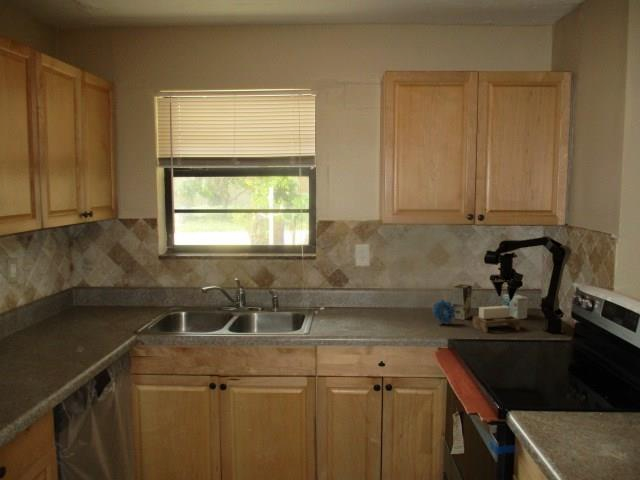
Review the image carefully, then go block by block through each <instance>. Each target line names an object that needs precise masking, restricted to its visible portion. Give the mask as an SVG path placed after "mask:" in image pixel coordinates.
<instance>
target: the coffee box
mask: <svg viewBox="0 0 640 480" xmlns="http://www.w3.org/2000/svg"><path fill="white" fill-rule="evenodd" d="M472 288H473V286H472V285H470V284H458V285H455V286H453V290H452V291H453V293H452V306H453V307H454V308H455V312H453V313H455V315H456V316H455V318H454V320H455V319H457V320H462V321H465V320H467V319H468V318H470V317H471V316H472V314H471V313H472V291H473V289H472Z"/></svg>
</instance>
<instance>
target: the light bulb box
mask: <svg viewBox="0 0 640 480" xmlns="http://www.w3.org/2000/svg"><path fill="white" fill-rule="evenodd" d="M528 299H529V298H528V297H527V296H525V295H520V294H514V297H513V299H512V300H510V299H509V295H508V293H505V294H503V295H502V306H508V307H510V316H513V317H515V318H518V319H520V320H523V319H527V318H528V302H529V300H528Z"/></svg>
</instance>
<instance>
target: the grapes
mask: <svg viewBox="0 0 640 480" xmlns="http://www.w3.org/2000/svg"><path fill="white" fill-rule="evenodd" d="M433 307H434V308H432V310H431V312H432V314H433V315H434V320H435V321H439V322H440V324H441V325H445V324H446V323H447V324H451V323H452V322H453V319H454V320H455V316H456V315H455V313H453V312H455V308H454V307H453V305H452V304H451V302H450V301H449V300H446V301H445V300H444V299H440V300H438V302H435V303H433Z"/></svg>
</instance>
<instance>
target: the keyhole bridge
mask: <svg viewBox="0 0 640 480" xmlns="http://www.w3.org/2000/svg"><path fill="white" fill-rule="evenodd" d="M520 321H521V319H518V318H515V317H513V316H510V317H505V319H504V318H489V319H486V320H484V319H483V318H480V317H479V315H473V316H472V328H475V329H477V330H478V331H481V332H483V333H488V327H489V326H488V325H490V324H491V325H492V324H503V325H505V326H506V327H507V326H508V327H509V328H512V329H514V330H516V331H520V324H521V323H520Z"/></svg>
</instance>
